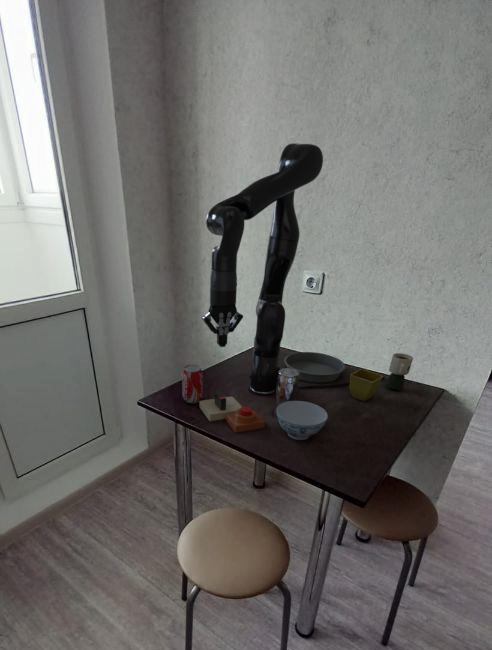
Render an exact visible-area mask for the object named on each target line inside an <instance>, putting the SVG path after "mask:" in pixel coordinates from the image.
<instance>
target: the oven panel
mask: <svg viewBox="0 0 492 650" xmlns="http://www.w3.org/2000/svg"><path fill="white" fill-rule="evenodd" d="M224 397H225V398H226V410H222V411H221V410H220V409H219V408H218V407H217V406H216V404H215V398H211V399H204V400H203V399H202V400H201V401H199V409H200V410H201V411H202V413H203V414H204V415H205V417H206V418H207V420H208V421H209V422H215V421H220V420H226V415H227V414H233V413H235V412H236V410H238V409H240V408H241V407H243V406H242V405H241V403H239V402H238V400H236V398H235V397H233V396H224Z"/></svg>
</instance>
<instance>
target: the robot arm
mask: <svg viewBox="0 0 492 650" xmlns="http://www.w3.org/2000/svg"><path fill="white" fill-rule="evenodd" d="M323 163H324V154H323V151H322V149H321V148H320V146H318V145H316V144H312V143H298V142H297V143H296V142H295V143H294V142H293V143H292V142H291V143H288V144H286V145H285V147H284V148H283V149H282V152H281V154H280V158H279V162H278V169H277V172H274V173H272V174H269V175H266V176H263V177H261V178H259V179H257V180H255V181H254V182H251V184H249V185H248V186H246V187H245V188H243V189H242V190H241V191H240V192H238V193H237V194H235V195H233V196H230V197H228V198H225V199H223V200H222V201H220V202H217V203H216V204H215V205H213V206H211V208H210V209H209V211H208V212H207V215H206V217H205V225H206V228H207V230H208V231H209V232H210V233H211V234H213V235H215V236H220V237H221V239H220V244H219V245H216V246H214V247H213V248H212V250H211V256H210V257H211V259H210V260H211V261H210V267H211V269H210V278H209V308H208V312H207V313H206V314H205V315H202V316H201V320H202V322H203V323H204V324H205V325H206V327H207V328H208V329H209V331H211V333H213V334H214V335H216V344H217V345H218V346H219V348H225V347H226V345H227V344H228V336H229V334H230V333H233V332H234V331H235V330H236V329H237V327H238V326H239V325H240V323H241V321H242V320H243V318H244V314H242V313H240V312H238V309H237V306H236V305H237V293H238V292H237V289H238V274H237V269H238V268H237V267H238V252H239V249H240V246H241V242H242V239H243V235H244V231H245V224H246V223H245V221H249V220H252V219H254V218H255V217H256V216H257V215H259V214H260V213H262V212H263V211H264V210H265V209H267V208H268V207H269V206H271V205H272V204H273V203H274V206H273V213H272V221H271V227H270V231H269V235H268V241H267V247H266V255H265V261H264V272H263V280H262V285H261V288H260V292H259V296H258V298H257V302H256V307H255V316H256V328H255V335H254V338H253V349H252V352H253V353H252V363H251V374H250V375H249V379H250V385H249V390H250V392H252V393H253V394H256V395H260V396H269V395H273V394H274V393H276V382H277V376H278V371H279V370H280V369H281V367H280V366H279V360H280V352H281V344H282V341H283V337H284V330H285V323H286V309H285V306H284V305H283V296H284V289H285V285H286V281H287V278H288V276H289V273H290V271H291V268H292V267H293V264H294V261H295V259H296V255H297V251H298V246H299V242H300V234H301V233H300V231H301V230H300V226H299V221H298V217H297V213H296V209H295V193H296V190H298V189H300V188H302V187H304V186H307V185H308V184H311V183H312V182H314V181H315V180H316V179H317V178H318V177H319V175H320V173H321V171H322V170H323V169H322V168H323V165H324V164H323ZM212 319H213V321H214V324H213V323H212ZM382 380H385V376H383V378H382ZM349 384H350V381H349V382H342V383H334V384H314V385H312V384H311V385H304V386H303V385H302V386H298V389H309V388H331V387H341V386H347V385H348V386H349Z"/></svg>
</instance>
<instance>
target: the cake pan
mask: <svg viewBox="0 0 492 650" xmlns="http://www.w3.org/2000/svg"><path fill="white" fill-rule="evenodd" d="M283 362H284V364H285V365H286V368H289V369H294V370H297V371H298V372H299V380H301V381H304V382H308V383H314V384H315V383H317V384H322V383H323V384H324V383H331V382H335V381H336V380H338V379H339V378H340V376H341V373H343V372H344V371H345V369H346V364H345V363H344V362H343V361H342V360H341V359H339V358H337V357H335V356H333V355H329V354H326V353H321V352H313V351H300V352H299V351H297V352H292V353H290V354H287V355H286V357H285V358H284V359H283Z"/></svg>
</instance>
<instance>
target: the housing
mask: <svg viewBox="0 0 492 650" xmlns="http://www.w3.org/2000/svg"><path fill="white" fill-rule="evenodd" d="M225 421H226V423H227V424H228V425H229V427H230V428H231V429H232V430H233V431H234V432H235V433H241V432H247V431H252V430H259V429H264V428H266V421H265V420H264V418H262V416H260V414H259V413H258V412H256V410H254V409H252V414H251V416H242V415H240V409H238V410H236V412H235V413H233V414H227V415H226V419H225Z"/></svg>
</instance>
